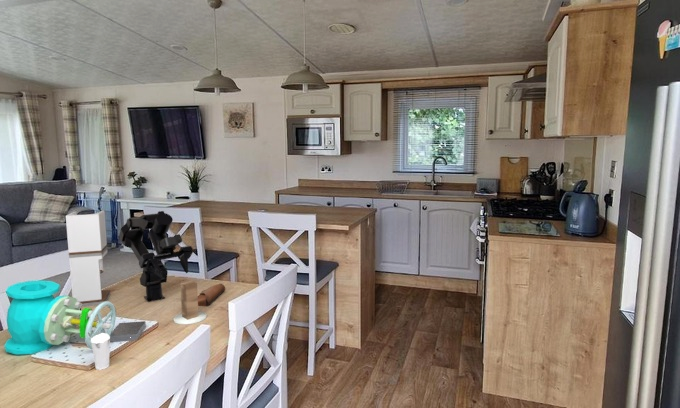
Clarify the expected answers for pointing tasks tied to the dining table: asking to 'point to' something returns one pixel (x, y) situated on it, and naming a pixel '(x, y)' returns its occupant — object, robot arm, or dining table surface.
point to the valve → (49, 318)
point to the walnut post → (189, 300)
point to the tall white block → (87, 256)
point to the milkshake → (101, 350)
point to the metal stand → (127, 331)
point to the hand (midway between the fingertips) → (175, 275)
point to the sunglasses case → (210, 294)
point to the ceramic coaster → (183, 321)
